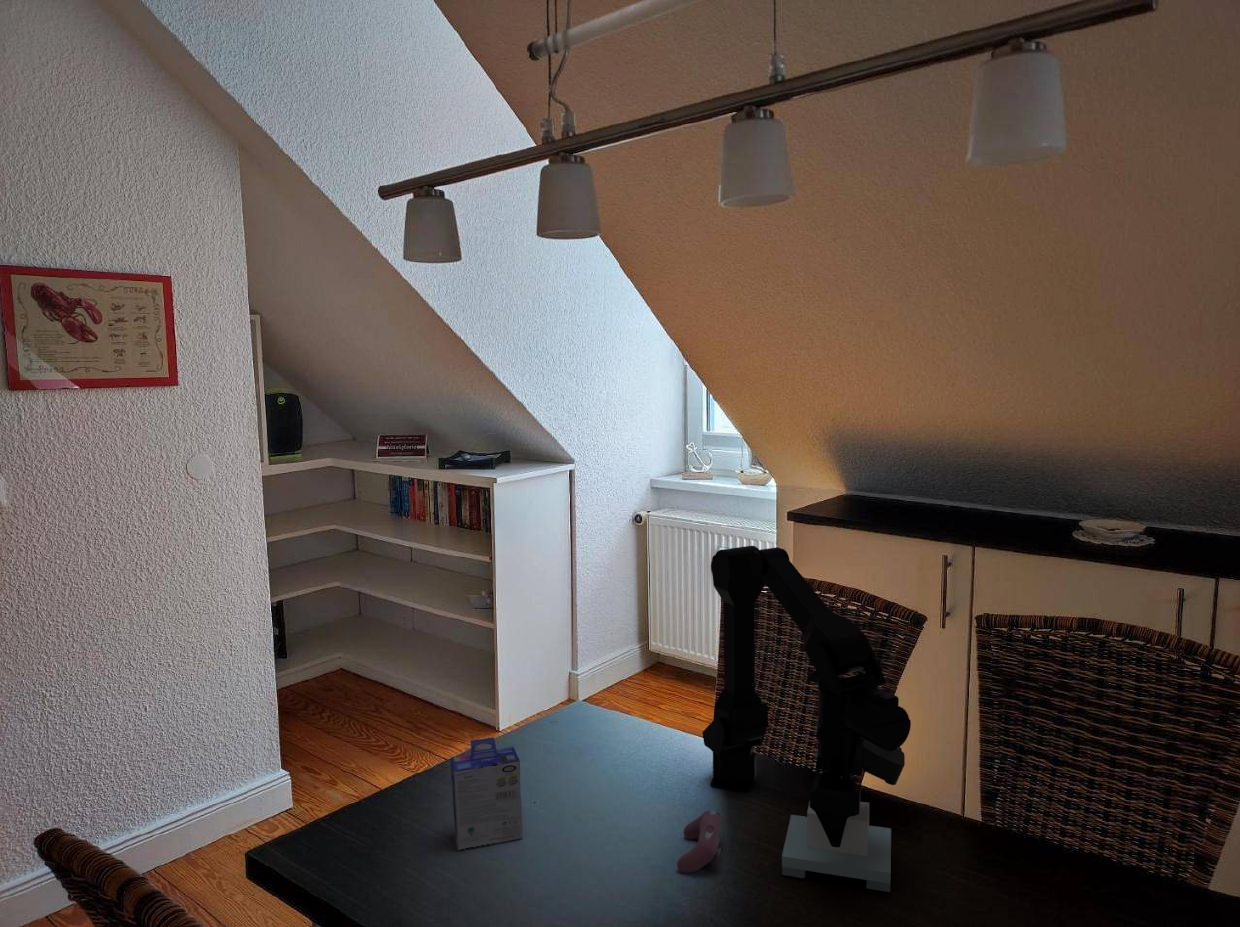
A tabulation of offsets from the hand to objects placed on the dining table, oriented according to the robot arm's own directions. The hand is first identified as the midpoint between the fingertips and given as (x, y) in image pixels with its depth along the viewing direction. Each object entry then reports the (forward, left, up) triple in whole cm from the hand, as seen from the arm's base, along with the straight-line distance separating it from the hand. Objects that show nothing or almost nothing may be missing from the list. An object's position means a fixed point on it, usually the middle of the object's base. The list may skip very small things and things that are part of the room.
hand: (837, 828), depth 120 cm
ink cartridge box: (-50, -7, -5) cm, 51 cm away
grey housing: (0, 0, -2) cm, 2 cm away
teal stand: (0, 0, -5) cm, 5 cm away
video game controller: (-18, -4, -5) cm, 20 cm away
